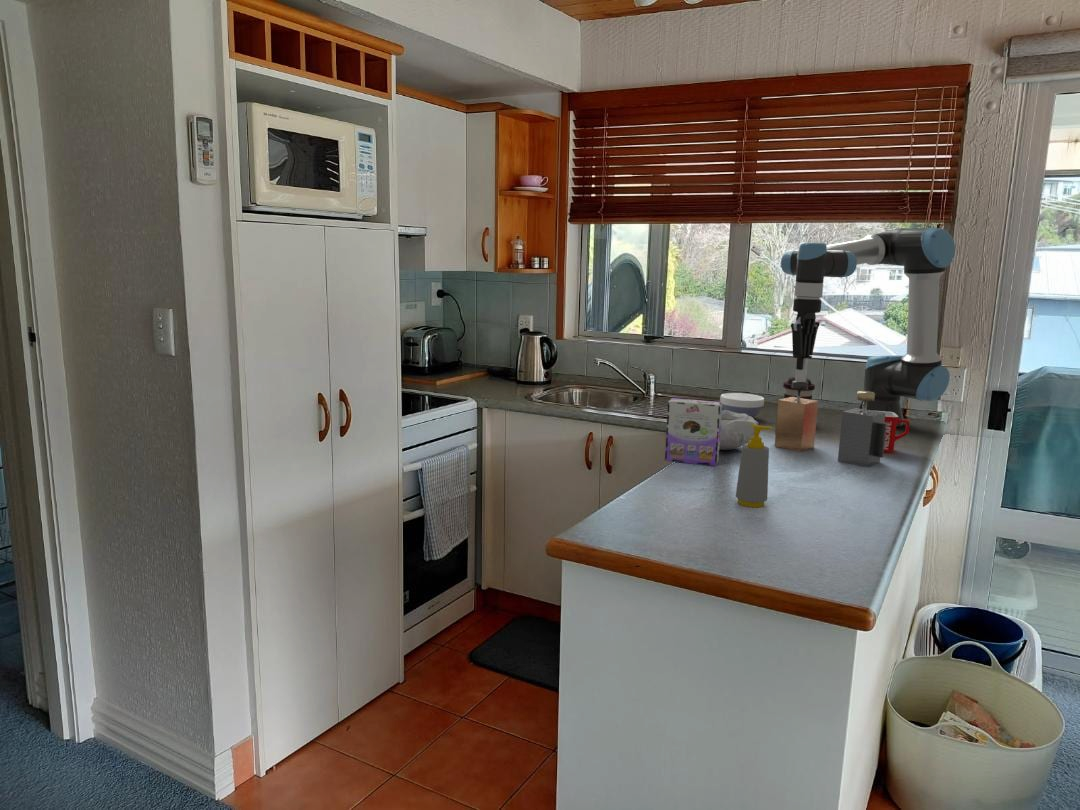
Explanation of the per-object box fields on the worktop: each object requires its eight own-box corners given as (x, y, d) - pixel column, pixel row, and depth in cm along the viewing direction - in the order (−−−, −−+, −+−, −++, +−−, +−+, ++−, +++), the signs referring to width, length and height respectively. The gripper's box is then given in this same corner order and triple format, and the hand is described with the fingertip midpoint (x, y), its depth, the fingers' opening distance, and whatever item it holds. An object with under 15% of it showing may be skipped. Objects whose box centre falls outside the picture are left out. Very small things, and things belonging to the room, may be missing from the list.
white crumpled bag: (685, 437, 242) (687, 405, 240) (755, 442, 238) (757, 409, 236) (683, 454, 222) (685, 418, 220) (759, 460, 218) (762, 424, 216)
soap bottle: (762, 510, 175) (768, 429, 171) (730, 504, 178) (737, 425, 175) (771, 502, 180) (777, 424, 177) (740, 496, 184) (746, 420, 181)
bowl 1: (768, 418, 276) (770, 396, 274) (754, 425, 263) (756, 402, 262) (727, 412, 283) (728, 391, 282) (712, 419, 271) (714, 397, 270)
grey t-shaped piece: (790, 436, 238) (795, 379, 235) (809, 440, 234) (814, 382, 231) (780, 439, 234) (785, 381, 231) (799, 443, 230) (805, 384, 227)
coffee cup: (812, 427, 262) (817, 382, 259) (781, 425, 264) (785, 380, 261) (809, 421, 272) (813, 377, 269) (778, 419, 274) (782, 375, 271)
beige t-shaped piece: (853, 450, 223) (859, 389, 220) (874, 454, 219) (881, 392, 216) (844, 454, 219) (850, 391, 216) (865, 458, 215) (872, 395, 212)
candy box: (719, 461, 215) (723, 401, 212) (716, 466, 210) (720, 405, 207) (667, 456, 220) (671, 396, 216) (663, 461, 214) (667, 400, 211)
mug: (865, 451, 231) (868, 415, 229) (860, 445, 239) (863, 410, 237) (909, 454, 229) (913, 418, 227) (902, 448, 237) (907, 412, 235)
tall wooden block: (781, 440, 242) (785, 395, 239) (813, 447, 235) (818, 400, 232) (768, 444, 236) (772, 398, 233) (800, 451, 229) (805, 404, 226)
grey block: (850, 456, 225) (855, 408, 222) (887, 463, 218) (892, 413, 215) (837, 461, 219) (842, 411, 217) (874, 468, 212) (880, 417, 210)
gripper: (806, 296, 234) (798, 376, 238) (784, 297, 224) (777, 381, 229) (830, 298, 228) (823, 380, 233) (809, 299, 219) (801, 384, 224)
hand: (800, 380), depth 231 cm, fingers closed
